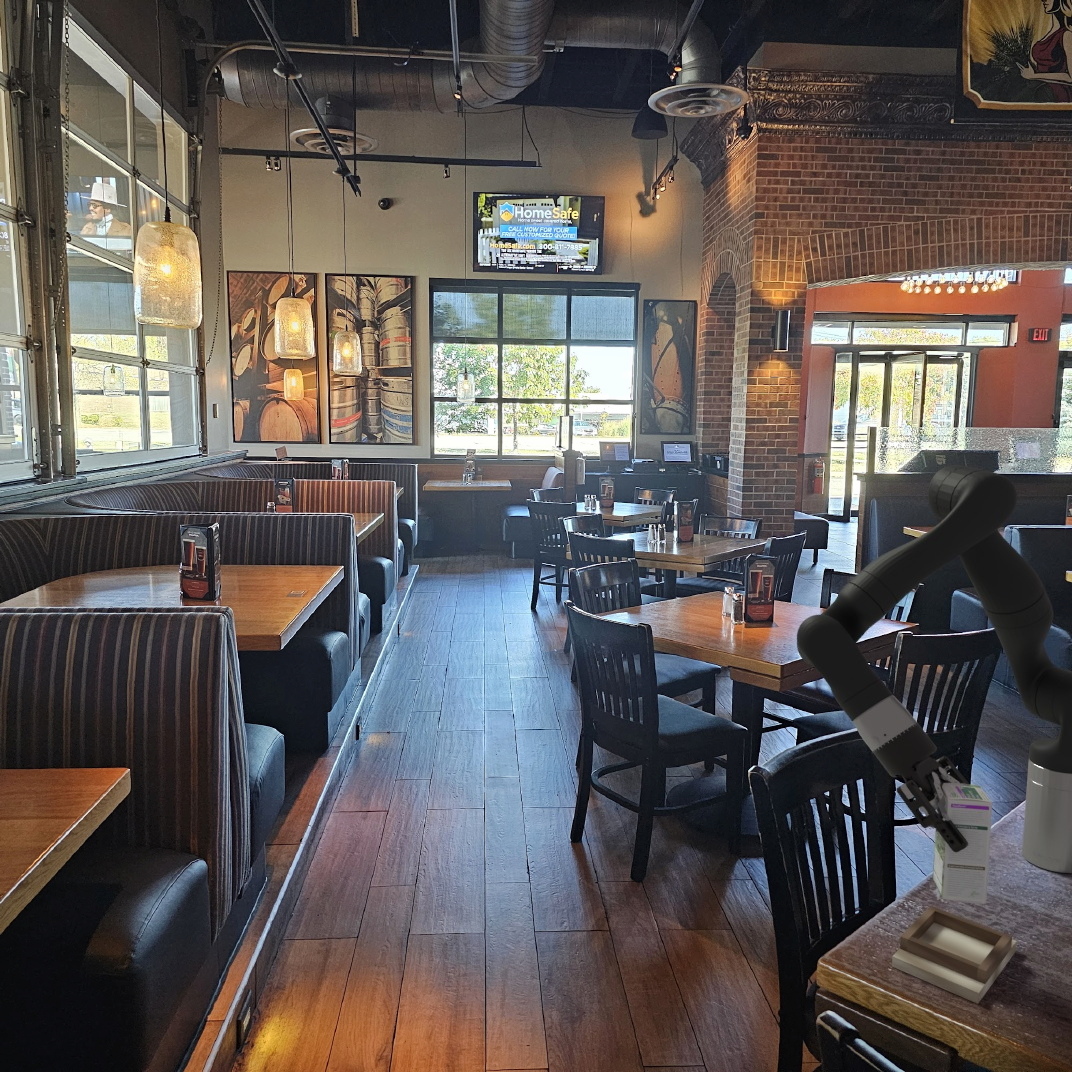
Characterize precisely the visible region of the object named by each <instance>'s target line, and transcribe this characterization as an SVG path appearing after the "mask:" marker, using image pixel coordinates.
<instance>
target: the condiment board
mask: <svg viewBox="0 0 1072 1072" xmlns="http://www.w3.org/2000/svg"><path fill="white" fill-rule="evenodd" d="M899 940H900V941H899V949H898V950H897V951H896V952H895V953H893V955H892V957H891V959H892V960H891V967H892V968H894V969H896V970H899V971H901V972H903V973H907V974H908V975H910V976H913V977H915V978H917V979H920V980H922V981H924V982H926V983H928V984H932V985H934V986H936V987H938V988H940V989H943V990H945V991H947V992H950V993H952V994H954V995H957V996H959V997H961V998H963V999H966V1000H968V1001H970V1002H973V1003H975V1004H977V1005H978V1004H979V1003H980V1002H981V1000H982V999H983V998H984V996H985V995H986V994H987V992H988V991H989V989H990V988H991V986H992V985H993V983H994V982H995V981H996V979H997V978H998V977H999V975H1000V974H1001V973H1002V971H1003V969H1005V967H1006V965H1007V964H1008V963H1009V962H1010V960H1011V959H1012V957H1013V956H1014V954H1015V953H1016V952H1017V946H1018V943H1017V942H1018V940H1015V939H1013V936H1012V935H1010V934H1008V933H1005V932H1001V931H999V930H996V929H994V928H991V927H988V926H986V925H983V924H981V923H978V922H975V921H972V920H970V919H967V918H964V917H962V916H960V915H956V914H954V913H951V912H948V911H946V910H944V909H940V908H937V907H935V906H933V905H929V907H928V908H926V910H925V911H923V912H922V913H921V915H920V916H919V917H918V918H916V920H915V921H914V922H913V923H912V924H910V926H909V927H908V928H907V929H906V930H905V931H904V932H903V933H902V934H901V935H900V939H899Z"/></svg>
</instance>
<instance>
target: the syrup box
mask: <svg viewBox="0 0 1072 1072" xmlns="http://www.w3.org/2000/svg"><path fill="white" fill-rule="evenodd" d="M941 790H942V792H943V795H944V798H945V810H946V812H947V815H948V818H949V820H950V819H951V821H952V822H953V823H954V825H955V826H956V827H957V829H958V830H959V831H960V833H961V834H962V835H963V836H964V838H965V839H966V840H967V842H968V846H967V847H966V848H964V849H963V850H961V851H959V852H954V851H952V849H951V848H950V847H949V845H948V844H947V843H946V841H945V840H944V839H943V837H942V836H941V835H940V833H939V832H938V831H937V829H936V828H935V831H934V832H935V833H934V834H935V835H934V849H933V851H934V852H933V867H932V869H933V870H932V880H933V882H934V884H935V886H936V888H937V891H938V892H939V894H940V896H941V899H943V900H948V901H952V902H960V903H971V904H980V905H981V904H983V905H986V904H987V895H988V885H989V884H988V882H989V867H990V852H991V851H990V848H991V831H992V830H991V829H992V813H993V802H992V800H991V799H990V798H989V797H988V795H987V794H986V792H984V790H983V788H982V786H980V785H976V784H970V783H969V784H962V783H944V784H943V785H942V789H941ZM936 812H937V813H938V811H937V810H936ZM949 820H948V821H949Z"/></svg>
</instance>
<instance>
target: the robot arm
mask: <svg viewBox="0 0 1072 1072" xmlns="http://www.w3.org/2000/svg"><path fill="white" fill-rule="evenodd" d="M927 498H928V499H927V500H928V505H929V508H930V511H931V513H932V515H933V517H934V518H935V520H936V521H937V523H938V524H936V525H935V526H933V528H931V529H929V530H928V531H927V532H925V533H923V534H922V535H920V536H919V537H916V538H914V539H912V540H910V541H908V542H906V543H904V544H902V545H900V546H898V547H896V548H894V549H891V550H889V551H887V552H885V553H883V554H882V555H879V557H878V556H877V558H875V559H873V561H871V562H870V563H869V564H867V565H866V566H865V567H864V568H863V569H862V570H861V571H860V572H859V573H857V574H856V575H855V576H854V577H853V578H852V579H851V580H850V581H849V582H848V583H847V584H846V585H845V586H844V587H843V588H842V589H841V590H840V592H839V593H838V594H837V596H836V598H835V600H833V602H832V603H831V605H829V606H828V607H827V608H826V609H824V611H823V612H821V614H813V615H811V616H809V617H807V618H805V619H804V620H803V621H802V622H801V624H800V625H799V627H798V629H797V631H796V632H797V633H796V649H797V652H798V655H799V656H800V658H801V659H802V660H803V662H805V664H807V665H809V666H812V667H814V668H815V669H816V671H817V672H818V673H819V674H820V675H821V677H822V679H824V681H825V682H826V683H827V685H828V686H829V688H830V691H831V693H832V695H833V697H834V699H835V700H836V702H837V703H838V706H840V708H841V709H842V711H844V713H845V714H846V716H847V717H848V718H849V719H850V721H851V722H852V724H853V726H854V728H856V730H857V731H858V732H857V733H859V735H860V737H861V738H862V740H863V742H864V743H865V744H866V745H867V746H868V748H869V749H870V750H871V751H872V753H873V754H874V756H875V757H876V758H877V760H878V761H879V763H880V764H881V765H882V766H883V768H884V769H885V770H886V772H887V773H888V774H889V775H890V776H891V777H892V778H897V777H898V776H901V777H902V778H903V780H904V783H903V784H901V785H900V786H898V787H896V788H895V789H896V793H897V794H898V795H899V797H900V799H902V801H903V802H904V804H905V805H906V807H907V808H908V810H909V811H910V812H911V814H912V815H913V817H914V818H915V819H916V820H917V822H918V823H919V824H920V826H921V827H922V828H923V829H927V828H932V829H935V830H936V829H937V831H938V832H939V833H940V835H941V836H942V837H943V839H944V840H945V841H946V843H947V844H948V845H949V847H950V848H951V849H952V851H954V852H959V851H961V850H963V849H964V848H966V847H967V846H968V842H967V840H966V839H965V838H964V836H963V835H962V834H961V833H960V831H959V830H958V829H957V827H956V826H955V825H954V823H953V822H952V821H951V819H950V820H949V818H948V815H947V812H946V810H945V798H944V795H943V792H942V790H941V789H942V785H943V784H944V783H962V784H970V783H969V782H968V780H967V779H966V778H965V777H964V776H963V774H962V773H961V772H960V770H959V769H958V768H957V767H956V765H955V764H954V763H953V762H952V761H951V760H950V759H949V757H948V756H947V755H943V756H941V757H939V758H938V759H935V758H934V757H933V756H932V755H933V754H934V753H936V751H937V746H936V743H934V742H933V741H932V739H931V738H930V736H929V735H928V733H926V731H924V729H923V728H922V726H921V725H920V724H919V722H918V721H917V720H916V719H915V717H914V716H913V715H912V714H911V713H910V711H909V710H908V709H907V708H906V707H905V705H904V704H902V702H901V701H900V700H899V699H897V697H896V696H895V695H893V693H892V691H891V690H890V689H889V688H888V686H887V685H886V684H885V683H884V682H883V680H882V679H881V678H880V677H879V675H878V674H877V673H876V672H875V671H874V669H872V667H871V666H870V664H869V663H868V662H867V660H866V659H865V656H864V655H863V653H862V652H861V650H860V649H859V647H858V645H857V642H859V640H860V639H861V638H863V636H864V635H865V634H866V633H867V631H868V630H869V629H870V628H872V627H873V626H874V625H875V624H876V623H878V622H879V621H880V620H882V619H883V618H884V617H885V616H886V615H887V614H888V613H890V611H891V610H892V609H894V608H895V607H896V606H897V605H898V604H899V603H900V602H902V600H903V599H904V598H905V597H907V596H908V594H909V593H910V592H912V591H913V590H915V588H917V586H919V585H920V584H921V583H923V582H924V581H925V580H927V579H928V578H929V577H931V575H933V574H934V573H936V572H937V571H939V570H941V569H942V568H943V567H945V566H946V565H948V564H949V563H951V562H952V561H953V560H955V559H957V558H958V557H959V558H960V561H961V563H962V565H963V567H964V569H965V571H966V573H967V575H968V577H969V579H970V582H971V583H972V586H973V587H974V589H975V591H976V594H977V595H978V598H979V601H980V604H981V605H982V607H983V610H984V612H985V615H986V616H987V618H988V620H989V622H990V624H991V626H992V627H993V629H994V631H995V633H996V635H997V637H998V639H999V642H1000V645H1001V646H1002V648H1003V651H1004V653H1005V656H1006V658H1007V661H1008V663H1009V666H1010V668H1011V672H1012V674H1013V678H1014V680H1015V684H1016V687H1017V690H1018V694H1019V696H1020V699H1021V701H1022V703H1023V705H1024V707H1025V708H1026V710H1027V711H1028V712H1029V713H1030V714H1031V715H1033V716H1035V717H1036V718H1038V719H1040V720H1044V721H1046V722H1049V723H1052V724H1056V725H1059V726H1060V730H1059V735H1058V738H1057V737H1056V738H1055V737H1053V738H1049V737H1047V738H1039V739H1036V740H1034V741H1033V742H1031V744H1030V746H1029V753H1028V754H1029V755H1028V765H1027V766H1028V767H1027V777H1026V778H1027V779H1026V781H1027V782H1026V790H1025V792H1026V793H1025V805H1024V818H1023V831H1022V832H1023V833H1022V843H1021V844H1022V845H1021V856H1022V857H1023V858H1024V860H1026V861H1027V862H1029V863H1031V864H1033V865H1034V866H1037V867H1039V868H1041V869H1043V870H1047V871H1051V872H1056V873H1063V874H1072V670H1068V669H1065V668H1061V667H1058V666H1057V665H1055V664H1054V663H1053V662H1052V661H1051V659H1050V657H1049V656H1048V653H1047V651H1046V648H1045V646H1044V642H1045V640H1046V638H1047V636H1048V634H1049V632H1050V629H1051V627H1052V624H1053V620H1054V609H1053V605H1052V602H1051V599H1050V597H1049V594H1048V593H1047V591H1046V588H1045V586H1044V584H1043V582H1042V580H1041V579H1040V577H1039V575H1038V574H1037V572H1036V571H1035V569H1034V568H1033V566H1031V564H1029V563H1028V561H1026V560H1025V558H1024V556H1022V555H1021V554H1020V553H1019V552H1018V551H1017V549H1015V548H1014V547H1013V546H1012V545H1011V544H1010V543H1009V542H1008V541H1007V540H1006V539H1005V537H1004V536H1003V535H1002V534H1001V533H1000V531H999V528H1001V527H1002V526H1003V525H1005V524H1006V522H1007V521H1008V520H1009V519H1010V518H1011V516H1012V515H1013V514H1014V511H1015V508H1016V506H1017V501H1018V494H1017V489H1016V487H1015V485H1014V483H1013V482H1012V481H1011V480H1010V479H1009V478H1007V477H1006V476H1004V475H1002V474H999V473H996V472H994V471H990V470H986V469H985V470H984V469H982V468H981V469H980V468H976V467H973V466H972V467H971V466H967V465H958V464H957V465H947V466H945V467H943V468H941V469H939V470H938V471H937V472H936V473H935V474H934V475H933V477H932V478H931V480H930V483H929V484H928V489H927ZM937 811H938V813H937ZM923 813H924V815H923ZM948 820H949V821H948Z"/></svg>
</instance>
